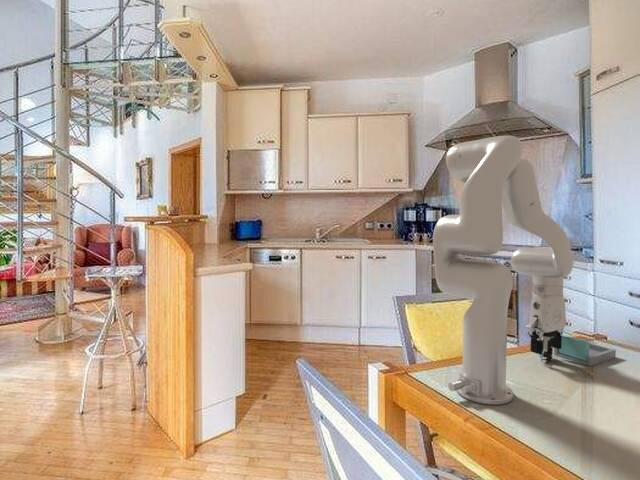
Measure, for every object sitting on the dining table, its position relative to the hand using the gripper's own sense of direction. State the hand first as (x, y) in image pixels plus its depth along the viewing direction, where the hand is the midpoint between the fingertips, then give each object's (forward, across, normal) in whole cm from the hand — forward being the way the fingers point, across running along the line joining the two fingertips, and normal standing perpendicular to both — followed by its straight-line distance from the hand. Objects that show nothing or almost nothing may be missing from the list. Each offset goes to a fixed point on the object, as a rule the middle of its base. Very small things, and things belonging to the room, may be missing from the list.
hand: (546, 349), depth 110 cm
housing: (+3, +13, -4) cm, 14 cm away
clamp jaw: (+2, +7, -3) cm, 8 cm away
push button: (+3, 0, 0) cm, 3 cm away
